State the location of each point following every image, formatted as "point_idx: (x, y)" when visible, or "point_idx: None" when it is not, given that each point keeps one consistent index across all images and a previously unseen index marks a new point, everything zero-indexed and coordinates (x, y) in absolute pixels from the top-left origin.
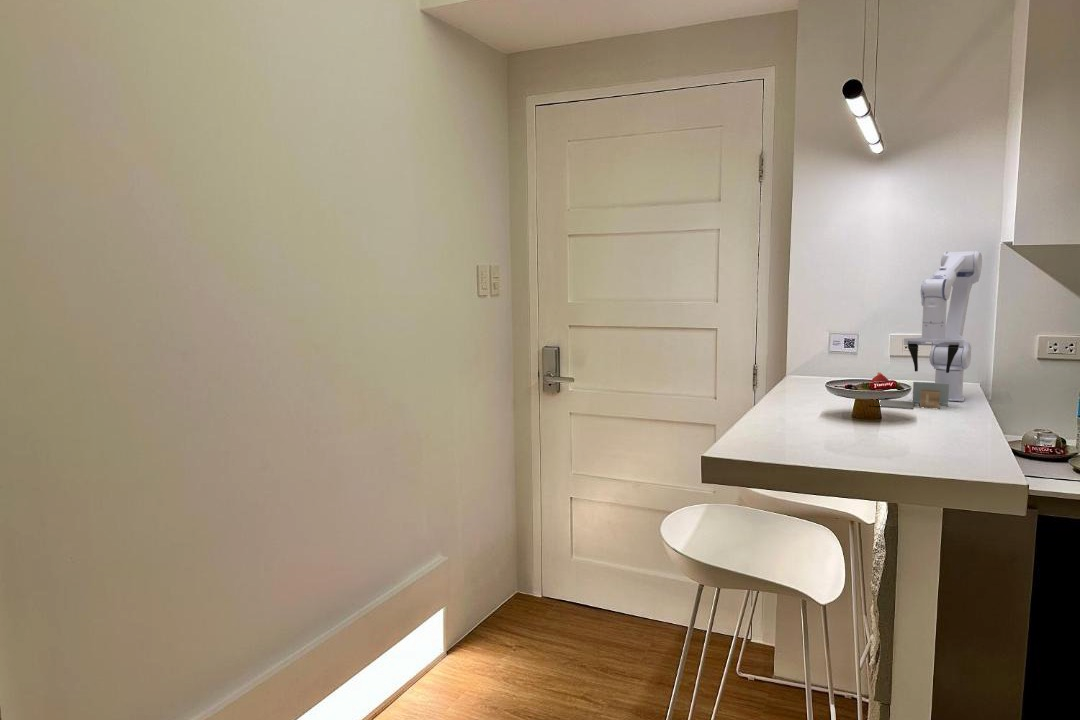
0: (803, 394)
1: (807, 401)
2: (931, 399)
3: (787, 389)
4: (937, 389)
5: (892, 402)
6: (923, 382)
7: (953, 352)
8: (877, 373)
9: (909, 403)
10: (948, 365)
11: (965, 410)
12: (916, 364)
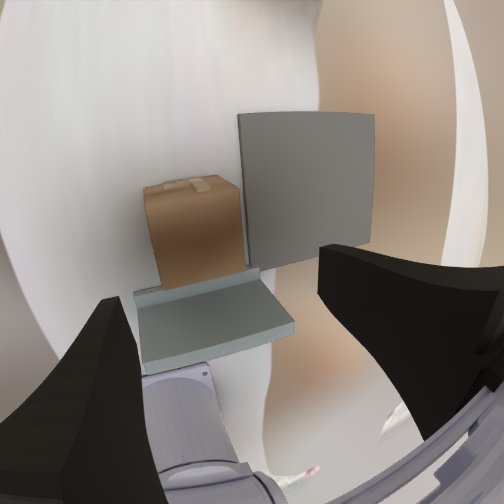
0: (465, 237)
1: (466, 140)
2: (179, 189)
3: None
4: (185, 331)
5: (318, 208)
6: (254, 336)
7: (10, 433)
8: None
9: (263, 219)
10: (94, 328)
11: (49, 215)
12: (362, 257)
